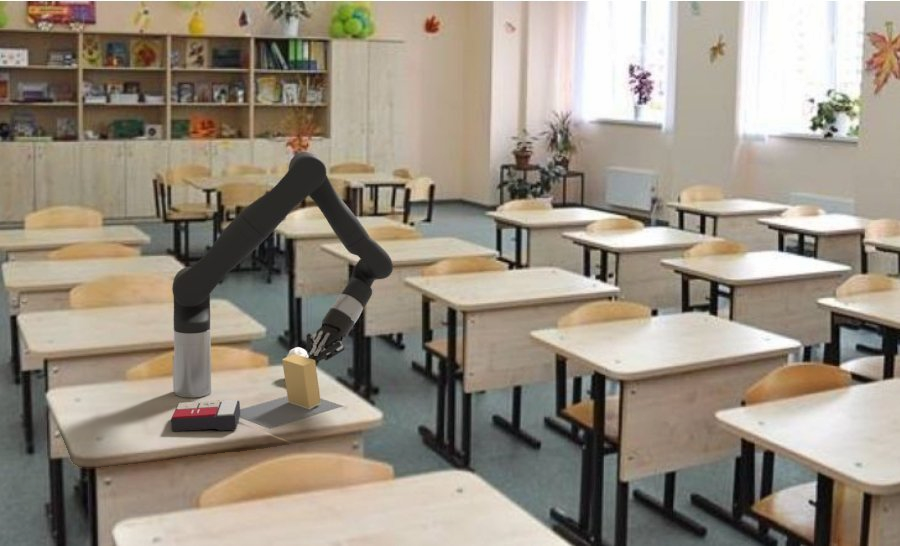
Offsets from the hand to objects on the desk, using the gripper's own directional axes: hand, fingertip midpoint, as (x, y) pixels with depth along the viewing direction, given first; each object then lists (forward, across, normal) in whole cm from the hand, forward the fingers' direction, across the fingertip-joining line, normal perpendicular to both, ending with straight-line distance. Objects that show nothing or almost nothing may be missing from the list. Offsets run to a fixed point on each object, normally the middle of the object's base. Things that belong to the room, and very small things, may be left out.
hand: (307, 369), depth 270 cm
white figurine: (-1, -17, +15) cm, 22 cm away
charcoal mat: (+12, 0, +2) cm, 12 cm away
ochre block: (+7, 0, +5) cm, 9 cm away
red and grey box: (+26, -6, -12) cm, 29 cm away
